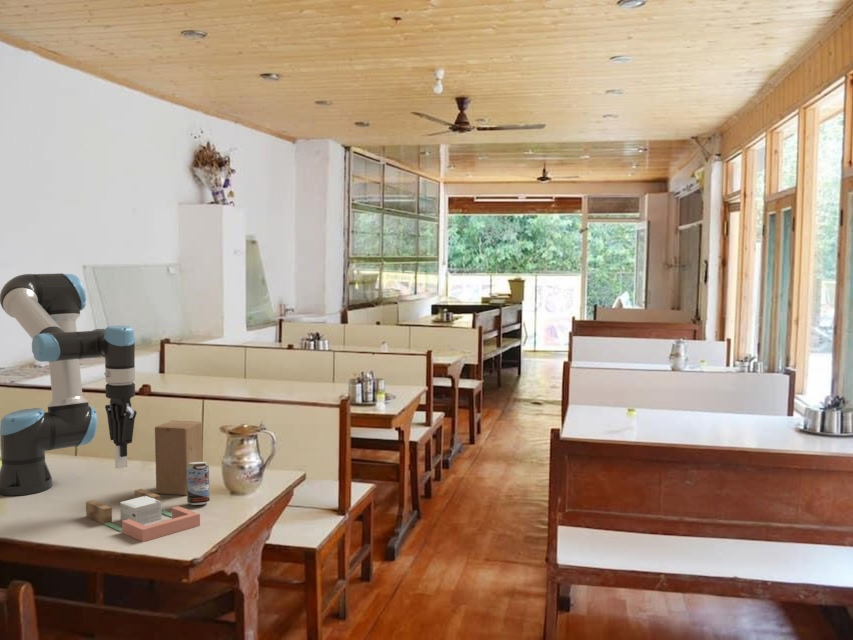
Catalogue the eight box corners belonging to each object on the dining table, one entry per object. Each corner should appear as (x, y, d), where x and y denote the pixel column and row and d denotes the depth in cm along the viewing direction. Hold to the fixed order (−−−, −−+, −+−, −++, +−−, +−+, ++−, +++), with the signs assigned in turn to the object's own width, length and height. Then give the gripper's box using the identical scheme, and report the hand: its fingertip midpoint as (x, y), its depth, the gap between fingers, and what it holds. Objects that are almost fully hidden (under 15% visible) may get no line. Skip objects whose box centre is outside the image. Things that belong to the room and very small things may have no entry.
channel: (86, 516, 211) (85, 501, 211) (141, 502, 223) (141, 488, 223) (104, 524, 205) (104, 509, 204) (160, 510, 217) (160, 495, 216)
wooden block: (186, 495, 230) (185, 428, 228) (155, 493, 232) (154, 426, 230) (203, 486, 240) (202, 421, 238) (173, 484, 242) (171, 419, 240)
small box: (119, 520, 208) (119, 501, 208) (147, 513, 214) (146, 495, 214) (135, 527, 203) (134, 507, 203) (162, 519, 209) (162, 500, 209)
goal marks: (104, 524, 205) (104, 523, 205) (160, 510, 217) (160, 509, 217) (120, 531, 199) (120, 530, 199) (176, 516, 211) (176, 515, 211)
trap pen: (122, 532, 199) (121, 520, 198) (178, 517, 211) (178, 506, 211) (142, 541, 192) (142, 529, 192) (200, 525, 204) (199, 514, 204)
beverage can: (189, 509, 217) (188, 466, 217) (184, 501, 224) (183, 460, 223) (212, 506, 220) (212, 463, 219) (207, 498, 227) (206, 457, 226)
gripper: (95, 381, 216) (96, 465, 218) (119, 387, 208) (120, 475, 210) (121, 378, 222) (122, 460, 224) (145, 384, 213) (146, 469, 215)
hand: (121, 467), depth 217 cm, fingers closed
